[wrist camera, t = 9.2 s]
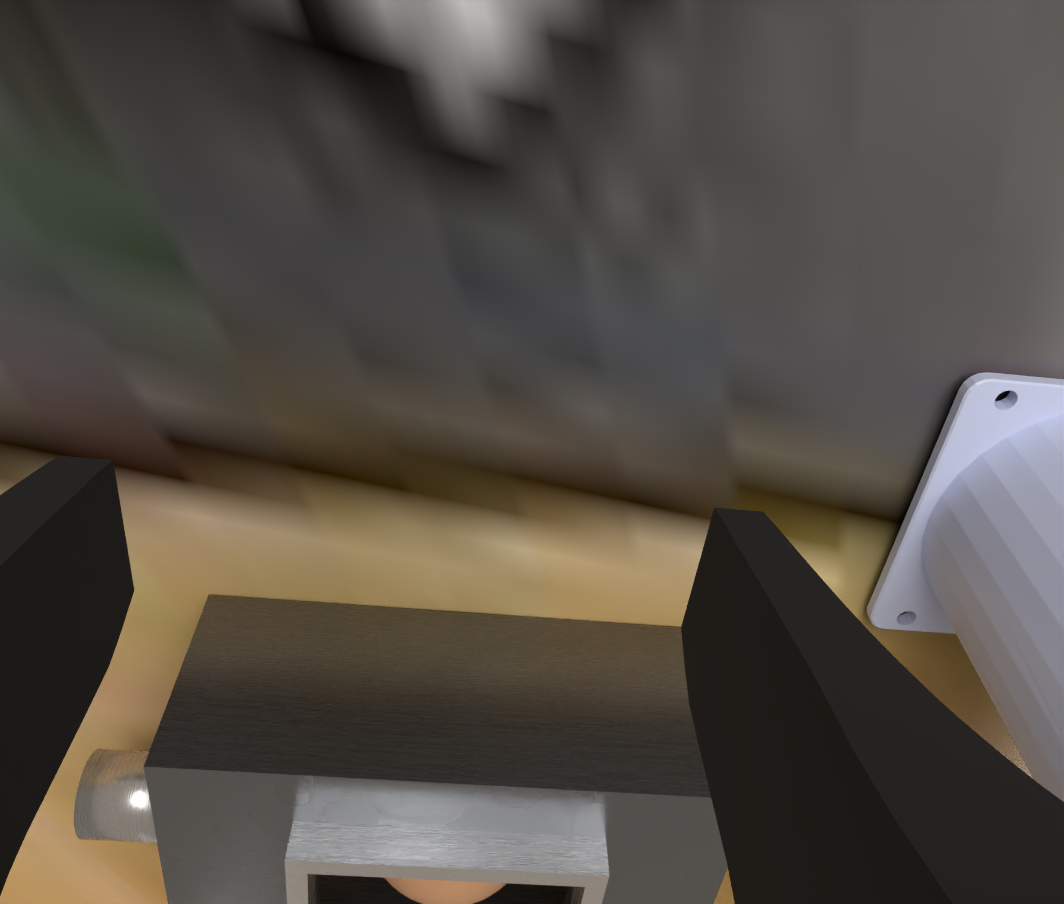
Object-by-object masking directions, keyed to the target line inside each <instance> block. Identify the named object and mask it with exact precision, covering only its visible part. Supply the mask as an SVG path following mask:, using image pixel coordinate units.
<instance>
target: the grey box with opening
mask: <svg viewBox="0 0 1064 904" xmlns="http://www.w3.org/2000/svg"><path fill="white" fill-rule="evenodd" d="M74 826H75V832H76V835H77V837H78V838H79V839H82V840H103V841H123V842H144V843H157V844H158V849H159V855H160V860H161V866H162V872H163V877H164V883H165V888H166V894H167V899H168V904H422V903H419V902H416V901H414V900H412V899H410V898H408V897H406V896H405V895H403V894H402V893H400V892H399V891H397V890H396V889H395V888H394V887H393V886H392V885H391V884H390V883H389V882H388V881H387V880H386V879H385V878H405V879H427V880H448V881H469V882H491V883H507V884H506V885H505V886H503V887H502V888H501V889H500V890H498V891H497V892H495V893H494V894H492V895H491V896H489V897H487V898H486V899H484V900H481V901H479V902H476V903H473V904H713V903H714V901H715V898H716V895H717V893H718V890H719V888H720V885H721V883H722V880H723V878H724V875H725V872H726V870H727V867H728V866H727V861H726V857H725V853H724V849H723V845H722V841H721V836H720V832H719V828H718V824H717V820H716V816H715V811H714V807H713V803H712V799H711V795H710V791H709V787H708V782H707V778H706V774H705V770H704V766H703V762H702V757H701V753H700V749H699V745H698V740H697V736H696V732H695V727H694V723H693V719H692V714H691V710H690V705H689V700H688V691H687V683H686V674H685V665H684V654H683V643H682V632H681V627H669V626H655V625H640V624H626V623H611V622H597V621H582V620H568V619H553V618H539V617H524V616H510V615H495V614H481V613H467V612H452V611H438V610H423V609H409V608H394V607H380V606H365V605H351V604H336V603H322V602H307V601H293V600H278V599H264V598H249V597H235V596H221V595H209V596H208V599H207V601H206V604H205V606H204V609H203V612H202V614H201V617H200V620H199V622H198V625H197V627H196V630H195V633H194V635H193V638H192V641H191V643H190V646H189V648H188V651H187V654H186V656H185V659H184V662H183V664H182V667H181V670H180V672H179V675H178V677H177V680H176V683H175V685H174V688H173V691H172V693H171V696H170V698H169V701H168V704H167V706H166V709H165V712H164V714H163V717H162V719H161V722H160V725H159V727H158V730H157V733H156V735H155V738H154V740H153V743H152V746H151V748H150V751H134V750H116V749H97V750H95V751H94V752H93V753H92V755H91V756H90V758H89V759H88V761H87V763H86V765H85V768H84V770H83V773H82V776H81V779H80V782H79V786H78V790H77V795H76V801H75V809H74Z"/></svg>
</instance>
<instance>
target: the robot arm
mask: <svg viewBox="0 0 1064 904" xmlns="http://www.w3.org/2000/svg"><path fill="white" fill-rule="evenodd" d="M1004 391H1010V393H1009V394H1008V395H1007V397H1006V398H1004V399H1002V400H1000V401H995V399H996V397H997V396H998V395H999V394H1000V393H1002V392H1004ZM133 592H134V586H133V580H132V574H131V568H130V562H129V556H128V549H127V543H126V537H125V531H124V525H123V519H122V512H121V506H120V500H119V494H118V488H117V482H116V476H115V469H114V463H113V460H105V459H92V458H80V457H67V456H59V457H57V458H55V459H54V460H52V461H51V462H49V463H47V464H46V465H44V466H43V467H41V468H40V469H38V470H37V471H35V472H34V473H32V474H31V475H29V476H28V477H26V478H25V479H23V480H22V481H20V482H19V483H17V484H16V485H15V486H13V487H12V488H10V489H9V490H7V491H6V492H4V493H3V494H2V495H0V895H1V893H2V890H3V887H4V884H5V882H6V879H7V877H8V874H9V871H10V869H11V867H12V865H13V862H14V860H15V858H16V856H17V853H18V851H19V849H20V847H21V845H22V842H23V840H24V838H25V836H26V833H27V831H28V829H29V827H30V825H31V823H32V821H33V819H34V817H35V815H36V813H37V811H38V809H39V807H40V805H41V803H42V801H43V799H44V797H45V795H46V793H47V791H48V789H49V787H50V785H51V783H52V781H53V779H54V777H55V775H56V773H57V771H58V769H59V767H60V765H61V763H62V761H63V759H64V757H65V755H66V753H67V751H68V749H69V747H70V745H71V743H72V741H73V739H74V737H75V735H76V733H77V731H78V729H79V727H80V725H81V723H82V721H83V719H84V717H85V715H86V713H87V710H88V708H89V706H90V704H91V702H92V700H93V698H94V696H95V694H96V692H97V690H98V688H99V686H100V684H101V682H102V680H103V677H104V675H105V673H106V671H107V669H108V667H109V665H110V662H111V659H112V656H113V653H114V650H115V647H116V645H117V642H118V639H119V636H120V633H121V630H122V627H123V624H124V621H125V618H126V614H127V611H128V608H129V605H130V602H131V599H132V596H133ZM906 611H909V612H907V613H905V614H903V615H900V614H901V613H903V612H906ZM867 614H868V616H869V619H870V621H871V623H872V625H874V626H875V627H877V628H881V629H893V630H907V631H922V632H936V633H950V634H956V635H957V637H958V639H959V640H960V642H961V644H962V646H963V648H964V650H965V652H966V653H967V655H968V657H969V659H970V661H971V663H972V665H973V667H974V668H975V670H976V672H977V674H978V676H979V678H980V680H981V681H982V683H983V685H984V687H985V689H986V691H987V693H988V695H989V696H990V698H991V700H992V702H993V704H994V706H995V708H996V709H997V711H998V713H999V715H1000V717H1001V719H1002V721H1003V723H1004V724H1005V726H1006V728H1007V730H1008V732H1009V734H1010V736H1011V737H1012V739H1013V741H1014V743H1015V745H1016V747H1017V749H1018V751H1019V752H1020V754H1021V756H1022V758H1023V760H1024V762H1025V764H1026V765H1027V767H1028V769H1029V771H1030V773H1031V775H1032V777H1033V779H1032V778H1031V777H1030V776H1028V775H1027V774H1026V773H1025V772H1023V771H1022V770H1021V769H1019V768H1018V767H1017V766H1016V765H1014V764H1013V763H1012V762H1011V761H1009V760H1008V759H1007V758H1006V757H1004V756H1003V755H1002V754H1001V753H1000V752H998V751H997V750H996V749H995V748H994V747H992V746H991V745H990V744H989V743H988V742H987V741H985V740H984V739H983V738H982V737H981V736H979V735H978V734H977V733H976V732H975V731H974V730H972V729H971V728H970V727H969V726H968V725H966V724H965V723H964V722H963V721H962V720H961V719H959V718H958V717H957V716H956V715H955V714H954V713H953V712H951V711H950V710H949V709H948V708H947V707H946V706H945V705H944V704H943V703H941V702H940V701H939V700H938V699H937V698H936V697H935V696H934V695H933V694H932V693H931V692H930V691H929V690H928V689H926V688H925V687H924V686H923V685H922V684H921V683H920V682H919V681H918V680H917V679H916V678H915V677H914V676H913V675H912V674H911V673H910V672H909V671H908V670H907V669H906V668H905V667H904V666H903V665H902V664H901V663H900V662H899V661H898V660H897V659H896V658H895V657H894V656H893V655H892V654H891V653H890V652H889V651H888V650H887V649H886V648H885V647H884V646H883V645H882V644H881V643H880V642H879V641H878V640H877V639H876V638H875V637H874V636H873V635H872V634H871V633H870V632H869V631H868V629H867V628H866V627H865V626H864V625H863V624H862V623H861V622H860V621H859V620H858V619H857V618H856V617H855V616H854V614H853V613H852V612H851V611H850V610H849V609H848V608H847V607H846V606H845V605H844V604H843V602H842V601H841V600H840V599H839V598H838V597H837V596H836V595H835V593H834V592H833V591H832V590H831V589H830V588H829V587H828V586H827V584H826V583H825V582H824V581H823V580H822V579H821V578H820V576H819V575H818V574H817V573H816V572H815V571H814V570H813V568H812V567H811V566H810V565H809V564H808V563H807V562H806V560H805V559H804V558H803V557H802V556H801V555H800V553H799V552H798V551H797V550H796V549H795V548H794V546H793V545H792V544H791V543H790V542H789V541H788V539H787V538H786V537H785V536H784V535H783V534H782V533H781V531H780V530H779V529H778V528H777V527H776V526H775V525H774V523H773V522H772V521H771V520H770V519H769V518H768V517H767V516H766V515H765V513H764V512H760V511H747V510H735V509H722V508H714V511H713V515H712V519H711V522H710V526H709V529H708V533H707V537H706V540H705V544H704V547H703V551H702V555H701V558H700V562H699V565H698V569H697V573H696V576H695V580H694V583H693V587H692V591H691V594H690V598H689V601H688V605H687V609H686V612H685V616H684V620H683V623H682V627H681V632H682V643H683V654H684V665H685V674H686V683H687V691H688V700H689V705H690V710H691V714H692V719H693V723H694V727H695V732H696V736H697V740H698V745H699V749H700V753H701V757H702V762H703V766H704V770H705V774H706V778H707V782H708V787H709V791H710V795H711V799H712V803H713V807H714V811H715V816H716V820H717V824H718V828H719V832H720V836H721V841H722V845H723V849H724V853H725V857H726V861H727V866H728V870H729V875H730V880H731V886H732V891H733V896H734V901H735V904H1064V379H1054V378H1043V377H1032V376H1021V375H1011V374H1000V373H989V372H986V373H978V374H975V375H973V376H971V377H969V378H968V379H967V380H966V381H964V382H963V384H962V385H961V387H960V388H959V390H958V393H957V395H956V398H955V400H954V402H953V405H952V407H951V409H950V412H949V414H948V417H947V419H946V421H945V424H944V426H943V428H942V431H941V433H940V435H939V438H938V440H937V443H936V445H935V447H934V450H933V452H932V454H931V457H930V459H929V462H928V464H927V466H926V469H925V471H924V473H923V476H922V478H921V481H920V483H919V485H918V488H917V490H916V492H915V495H914V497H913V500H912V502H911V504H910V507H909V509H908V511H907V514H906V516H905V519H904V521H903V523H902V526H901V528H900V530H899V533H898V535H897V538H896V540H895V542H894V545H893V547H892V549H891V552H890V554H889V557H888V559H887V561H886V564H885V566H884V568H883V571H882V573H881V576H880V578H879V580H878V583H877V585H876V587H875V590H874V592H873V595H872V597H871V599H870V602H869V604H868V606H867Z"/></svg>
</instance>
